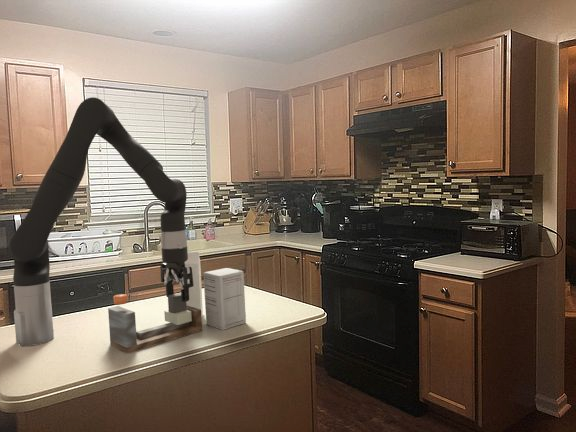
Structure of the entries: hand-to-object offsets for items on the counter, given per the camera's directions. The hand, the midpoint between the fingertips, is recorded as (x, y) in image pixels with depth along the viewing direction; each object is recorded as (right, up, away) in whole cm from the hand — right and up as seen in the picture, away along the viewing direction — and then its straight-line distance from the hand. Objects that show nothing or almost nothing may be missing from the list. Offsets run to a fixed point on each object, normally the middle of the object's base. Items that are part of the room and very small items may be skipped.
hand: (177, 299), depth 142 cm
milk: (+2, -9, +15) cm, 17 cm away
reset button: (-13, +1, -13) cm, 18 cm away
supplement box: (+14, -9, +7) cm, 18 cm away
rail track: (-5, -11, -4) cm, 12 cm away
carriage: (0, -7, 0) cm, 7 cm away
